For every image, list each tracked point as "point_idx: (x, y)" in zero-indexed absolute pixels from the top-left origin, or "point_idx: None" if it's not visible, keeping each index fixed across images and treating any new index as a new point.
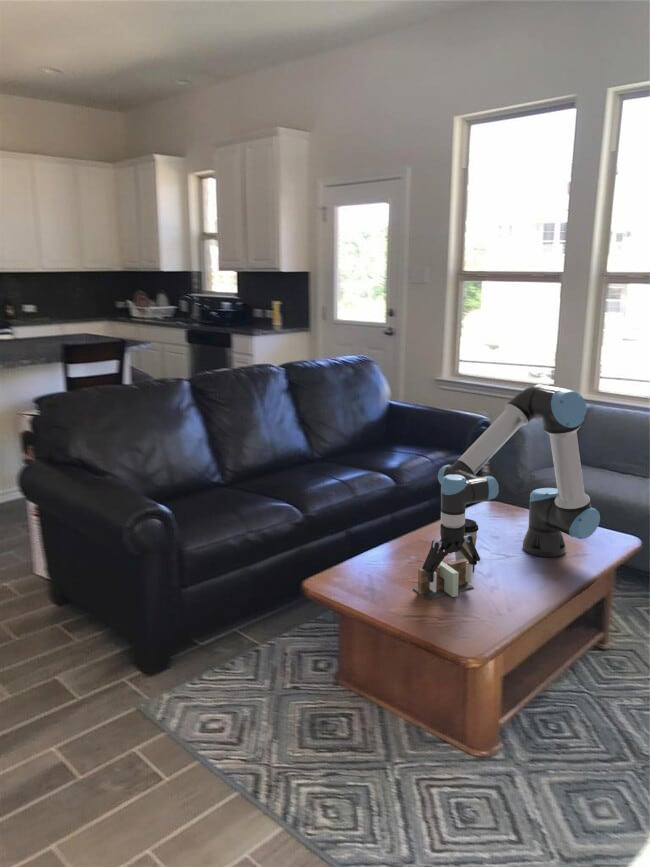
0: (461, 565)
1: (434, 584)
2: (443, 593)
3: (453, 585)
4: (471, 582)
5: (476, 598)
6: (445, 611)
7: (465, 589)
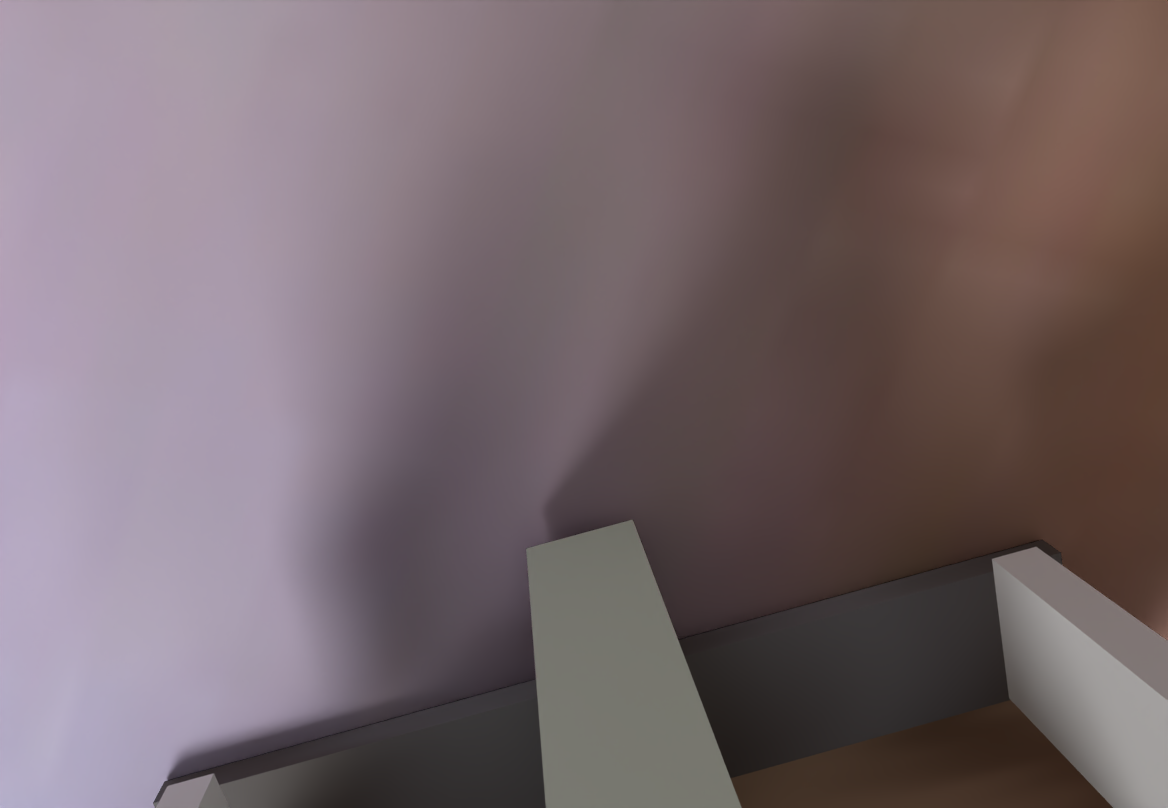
0: None
1: (1153, 637)
2: (733, 657)
3: (661, 636)
4: (177, 799)
5: (209, 456)
6: (916, 94)
7: (317, 750)
